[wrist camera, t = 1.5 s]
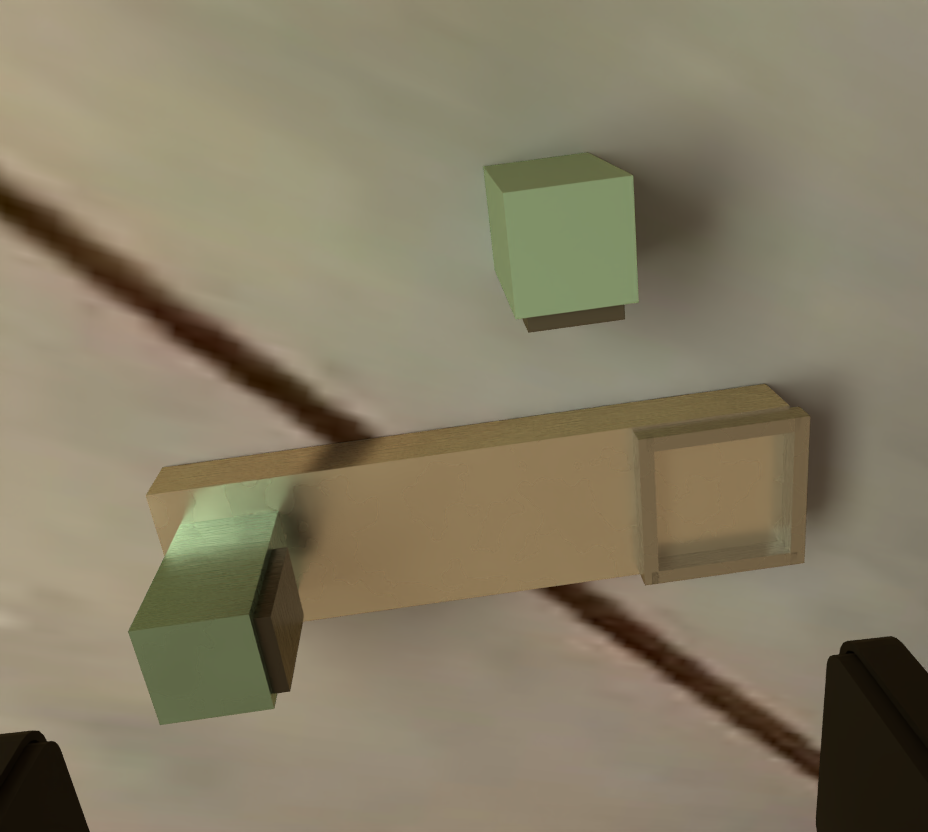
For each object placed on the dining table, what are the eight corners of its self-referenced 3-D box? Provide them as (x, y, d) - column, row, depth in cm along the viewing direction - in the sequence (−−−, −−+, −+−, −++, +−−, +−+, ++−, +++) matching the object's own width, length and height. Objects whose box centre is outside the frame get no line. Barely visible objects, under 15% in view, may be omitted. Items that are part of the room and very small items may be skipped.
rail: (162, 467, 36) (84, 597, 27) (774, 382, 36) (891, 484, 28) (202, 603, 39) (143, 761, 30) (771, 523, 39) (876, 656, 30)
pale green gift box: (496, 284, 34) (517, 337, 27) (483, 166, 32) (502, 193, 26) (595, 270, 34) (639, 320, 27) (587, 152, 32) (633, 175, 26)
